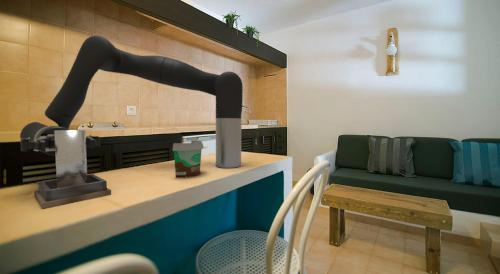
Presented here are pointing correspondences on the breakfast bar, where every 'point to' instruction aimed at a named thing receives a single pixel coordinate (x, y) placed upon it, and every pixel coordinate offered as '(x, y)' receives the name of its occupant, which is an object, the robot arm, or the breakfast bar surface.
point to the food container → (187, 158)
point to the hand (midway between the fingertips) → (69, 144)
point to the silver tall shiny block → (70, 157)
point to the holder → (70, 191)
